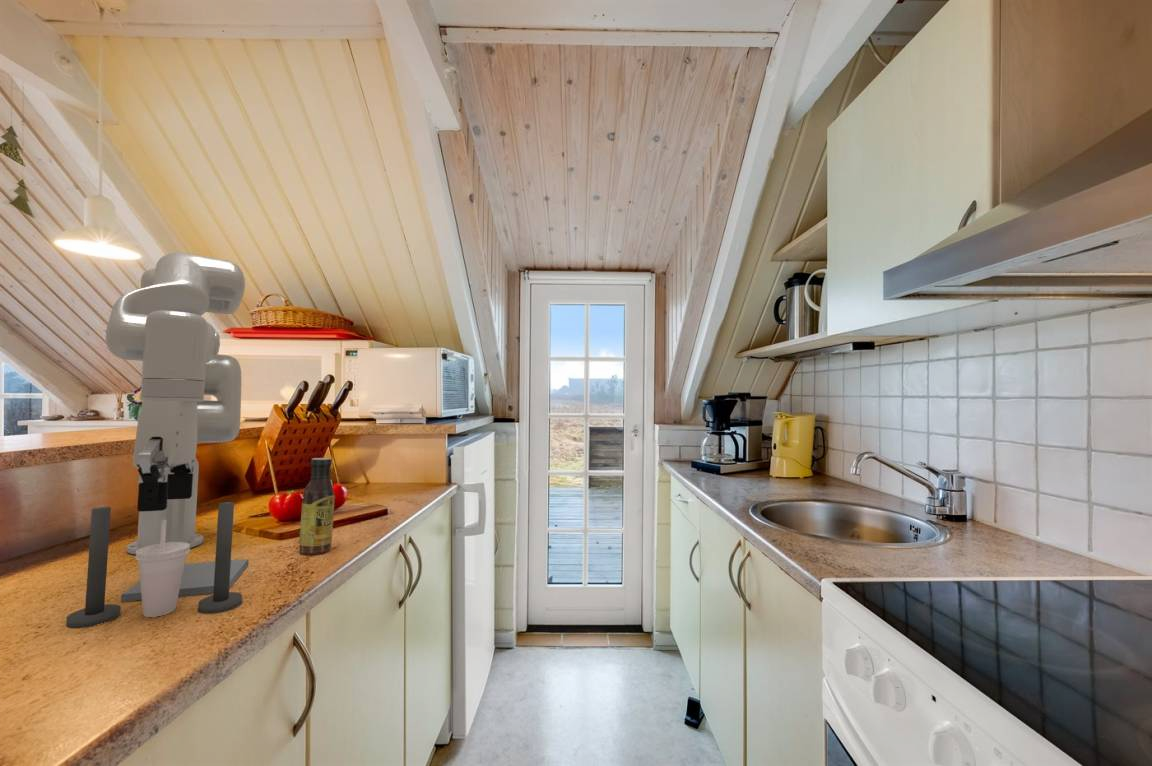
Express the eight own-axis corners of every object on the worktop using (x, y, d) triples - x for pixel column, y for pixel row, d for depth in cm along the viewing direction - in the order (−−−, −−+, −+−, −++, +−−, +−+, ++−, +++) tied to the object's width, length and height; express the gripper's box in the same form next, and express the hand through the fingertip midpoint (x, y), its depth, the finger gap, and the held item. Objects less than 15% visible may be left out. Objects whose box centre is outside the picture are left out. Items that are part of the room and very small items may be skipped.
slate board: (159, 572, 89) (159, 565, 89) (248, 565, 95) (248, 558, 95) (120, 602, 76) (121, 594, 76) (226, 591, 82) (227, 584, 82)
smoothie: (122, 624, 69) (129, 525, 70) (141, 606, 75) (147, 515, 76) (178, 617, 72) (184, 522, 72) (192, 601, 78) (197, 513, 78)
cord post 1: (80, 613, 72) (87, 505, 73) (127, 608, 74) (134, 503, 75) (56, 630, 67) (64, 513, 68) (108, 624, 69) (116, 511, 70)
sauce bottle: (317, 557, 100) (322, 461, 101) (291, 554, 102) (296, 459, 102) (338, 548, 107) (343, 457, 108) (314, 545, 108) (318, 456, 109)
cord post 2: (205, 600, 78) (211, 500, 78) (246, 596, 80) (251, 499, 81) (192, 615, 73) (198, 508, 73) (236, 610, 75) (242, 506, 75)
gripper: (166, 393, 81) (160, 496, 80) (113, 389, 65) (104, 518, 64) (220, 394, 84) (214, 493, 83) (181, 391, 68) (174, 514, 67)
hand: (166, 504), depth 74 cm, fingers open, 9 cm apart
